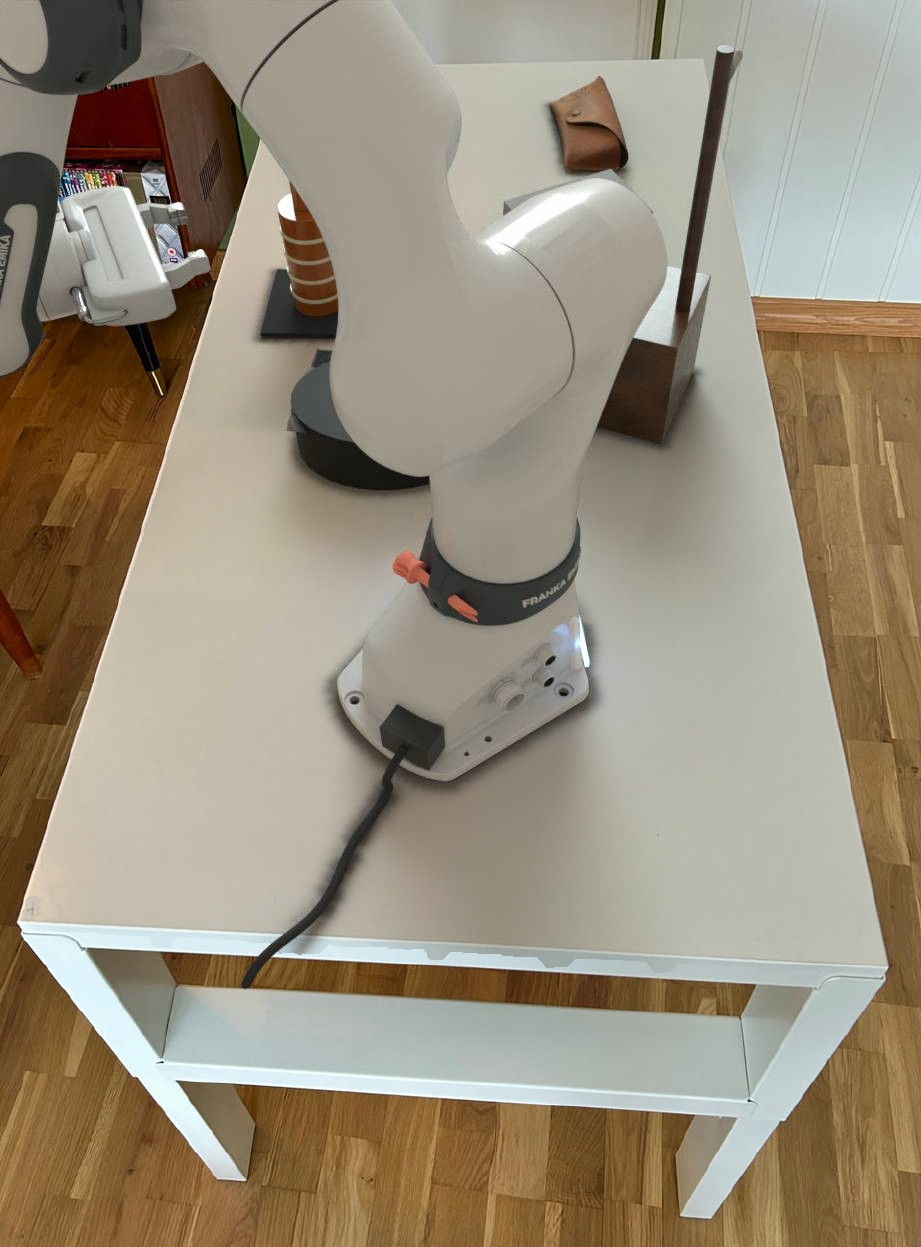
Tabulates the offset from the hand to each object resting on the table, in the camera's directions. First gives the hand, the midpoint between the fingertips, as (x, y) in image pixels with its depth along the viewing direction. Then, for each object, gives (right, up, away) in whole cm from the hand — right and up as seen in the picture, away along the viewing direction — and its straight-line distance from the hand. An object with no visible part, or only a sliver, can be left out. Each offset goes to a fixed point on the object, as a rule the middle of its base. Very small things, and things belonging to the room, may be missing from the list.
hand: (196, 235), depth 111 cm
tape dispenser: (+20, -22, -1) cm, 29 cm away
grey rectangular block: (+35, +6, +16) cm, 38 cm away
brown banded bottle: (+11, -3, +12) cm, 17 cm away
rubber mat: (+11, -3, +12) cm, 17 cm away
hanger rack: (+45, -16, +2) cm, 47 cm away
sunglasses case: (+44, +25, +33) cm, 61 cm away
